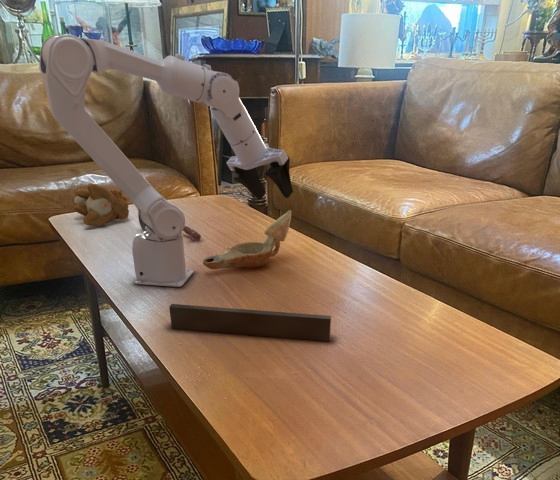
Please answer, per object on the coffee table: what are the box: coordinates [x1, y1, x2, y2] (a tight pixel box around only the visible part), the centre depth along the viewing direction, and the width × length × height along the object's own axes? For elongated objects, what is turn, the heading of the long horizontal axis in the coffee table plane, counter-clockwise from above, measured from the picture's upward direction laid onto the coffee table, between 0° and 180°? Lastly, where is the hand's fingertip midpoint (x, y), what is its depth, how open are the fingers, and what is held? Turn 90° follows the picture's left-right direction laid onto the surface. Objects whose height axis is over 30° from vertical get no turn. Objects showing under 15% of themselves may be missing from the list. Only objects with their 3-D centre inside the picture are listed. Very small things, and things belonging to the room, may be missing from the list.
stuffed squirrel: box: [72, 183, 130, 226], centre depth 143 cm, size 10×14×13 cm
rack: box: [168, 303, 332, 343], centre depth 88 cm, size 26×1×4 cm, turn 80°
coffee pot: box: [137, 212, 202, 242], centre depth 132 cm, size 8×18×8 cm
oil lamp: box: [202, 209, 292, 270], centre depth 113 cm, size 9×21×10 cm, turn 124°
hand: (275, 195), depth 111 cm, fingers open, 7 cm apart
